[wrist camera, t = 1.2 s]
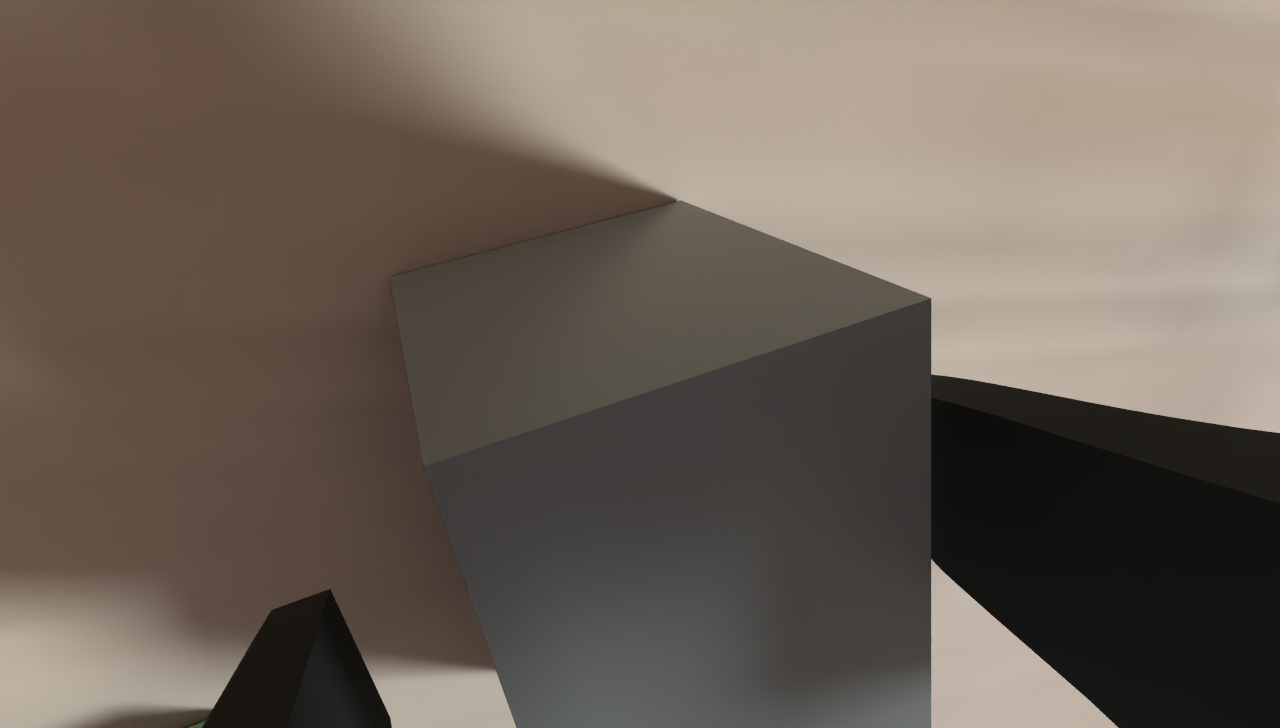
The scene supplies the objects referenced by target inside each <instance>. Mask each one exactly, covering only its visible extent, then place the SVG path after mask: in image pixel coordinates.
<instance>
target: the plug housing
mask: <svg viewBox="0 0 1280 728" xmlns="http://www.w3.org/2000/svg"><path fill="white" fill-rule="evenodd" d="M390 283H391V288H392V294H393V300H394V305H395V311H396V317H397V322H398V328H399V334H400V339H401V345H402V351H403V356H404V362H405V367H406V373H407V379H408V384H409V390H410V396H411V401H412V407H413V413H414V418H415V424H416V430H417V435H418V441H419V446H420V452H421V458H422V463H423V468H424V470H425V473H426V476H427V479H428V482H429V484H430V487H431V490H432V493H433V496H434V498H435V501H436V504H437V507H438V509H439V512H440V515H441V518H442V521H443V523H444V526H445V529H446V532H447V535H448V537H449V540H450V543H451V546H452V549H453V551H454V554H455V557H456V560H457V563H458V565H459V568H460V571H461V574H462V576H463V579H464V582H465V585H466V588H467V590H468V593H469V596H470V599H471V602H472V604H473V607H474V610H475V613H476V616H477V618H478V621H479V624H480V627H481V630H482V632H483V635H484V638H485V641H486V643H487V646H488V649H489V652H490V655H491V657H492V660H493V663H494V666H495V669H496V671H497V674H498V677H499V680H500V683H501V685H502V688H503V691H504V694H505V697H506V699H507V702H508V705H509V708H510V710H511V713H512V716H513V719H514V722H515V724H516V727H517V728H931V298H929V297H926V296H924V295H921V294H918V293H916V292H913V291H911V290H908V289H906V288H903V287H901V286H898V285H895V284H893V283H890V282H888V281H885V280H883V279H880V278H878V277H875V276H872V275H870V274H867V273H865V272H862V271H860V270H857V269H855V268H852V267H849V266H847V265H844V264H842V263H839V262H837V261H834V260H832V259H829V258H826V257H824V256H821V255H819V254H816V253H814V252H811V251H809V250H806V249H803V248H801V247H798V246H796V245H793V244H791V243H788V242H785V241H783V240H780V239H778V238H775V237H773V236H770V235H768V234H765V233H762V232H760V231H757V230H755V229H752V228H750V227H747V226H745V225H742V224H739V223H737V222H734V221H732V220H729V219H727V218H724V217H722V216H719V215H716V214H714V213H711V212H709V211H706V210H704V209H701V208H699V207H696V206H693V205H691V204H688V203H686V202H683V201H677V202H673V203H669V204H665V205H662V206H658V207H654V208H650V209H646V210H643V211H639V212H635V213H631V214H627V215H624V216H620V217H616V218H612V219H608V220H605V221H601V222H597V223H593V224H589V225H586V226H582V227H578V228H574V229H570V230H566V231H563V232H559V233H555V234H551V235H547V236H544V237H540V238H536V239H532V240H528V241H525V242H521V243H517V244H513V245H509V246H506V247H502V248H498V249H494V250H490V251H486V252H483V253H479V254H475V255H471V256H467V257H464V258H460V259H456V260H452V261H448V262H445V263H441V264H437V265H433V266H429V267H426V268H422V269H418V270H414V271H410V272H407V273H403V274H399V275H395V276H391V277H390Z"/></svg>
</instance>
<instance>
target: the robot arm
mask: <svg viewBox="0 0 1280 728" xmlns="http://www.w3.org/2000/svg"><path fill="white" fill-rule="evenodd" d="M931 559H932V560H933V561H934V562H935V563H936V564H937V565H938V566H939V568H940V569H941V570H942V571H943V572H945V573H946V574H947V575H948V576H949V577H950V578H951V579H952V580H953V581H954V582H955V583H957V584H958V585H959V586H960V587H961V588H962V589H963V590H964V591H965V592H967V593H968V594H969V595H970V596H971V597H972V598H973V599H974V600H976V601H977V602H978V603H979V604H980V605H981V606H982V607H983V608H985V609H986V610H987V611H988V612H989V613H990V614H991V615H992V616H994V617H995V618H996V619H997V620H998V621H999V622H1001V623H1002V624H1003V625H1004V626H1005V627H1006V628H1007V629H1009V630H1010V631H1011V632H1012V633H1013V634H1014V635H1015V636H1017V637H1018V638H1019V639H1020V640H1021V641H1022V642H1023V643H1025V644H1026V645H1027V646H1028V647H1029V648H1030V649H1031V650H1033V651H1034V652H1035V653H1036V654H1037V655H1038V656H1040V657H1041V658H1042V659H1043V660H1044V661H1045V662H1046V663H1048V664H1049V665H1050V666H1051V667H1052V668H1053V669H1054V670H1056V671H1057V672H1058V673H1059V674H1060V675H1061V676H1062V677H1064V678H1065V679H1066V680H1067V681H1068V682H1069V683H1070V684H1072V685H1073V686H1074V687H1075V688H1076V689H1077V690H1078V691H1080V692H1081V693H1082V694H1083V695H1084V696H1085V697H1086V698H1088V699H1089V700H1090V701H1091V702H1092V703H1093V704H1094V705H1095V706H1096V707H1097V708H1098V709H1099V710H1100V711H1101V712H1103V713H1104V714H1105V715H1106V716H1107V717H1108V718H1109V719H1110V720H1111V721H1112V722H1113V723H1114V724H1115V725H1116V726H1117V727H1118V728H1280V433H1274V432H1266V431H1258V430H1251V429H1243V428H1236V427H1230V426H1223V425H1217V424H1211V423H1204V422H1198V421H1191V420H1185V419H1179V418H1172V417H1166V416H1160V415H1155V414H1149V413H1143V412H1138V411H1132V410H1127V409H1121V408H1116V407H1110V406H1105V405H1100V404H1095V403H1089V402H1084V401H1079V400H1074V399H1069V398H1064V397H1059V396H1053V395H1048V394H1043V393H1038V392H1033V391H1028V390H1023V389H1018V388H1012V387H1007V386H1002V385H997V384H991V383H985V382H980V381H974V380H968V379H961V378H955V377H947V376H938V375H931ZM202 728H392V727H391V720H390V717H389V714H388V712H387V710H386V708H385V706H384V704H383V701H382V699H381V697H380V695H379V693H378V691H377V689H376V686H375V684H374V682H373V680H372V678H371V676H370V674H369V671H368V669H367V667H366V665H365V663H364V661H363V659H362V656H361V654H360V652H359V650H358V648H357V646H356V643H355V641H354V639H353V637H352V635H351V633H350V631H349V628H348V626H347V624H346V622H345V620H344V618H343V616H342V613H341V611H340V609H339V607H338V605H337V603H336V601H335V598H334V596H333V594H332V592H331V590H330V589H329V590H326V591H324V592H321V593H318V594H315V595H312V596H310V597H307V598H304V599H301V600H299V601H296V602H293V603H290V604H288V605H285V606H282V607H279V608H276V609H274V610H271V612H270V614H269V615H268V617H267V619H266V620H265V622H264V623H263V625H262V627H261V628H260V630H259V632H258V633H257V635H256V637H255V638H254V640H253V642H252V643H251V645H250V647H249V648H248V650H247V652H246V654H245V655H244V657H243V659H242V660H241V662H240V664H239V665H238V667H237V669H236V671H235V672H234V674H233V676H232V677H231V679H230V681H229V683H228V684H227V686H226V688H225V689H224V691H223V693H222V694H221V696H220V698H219V700H218V701H217V703H216V705H215V706H214V708H213V710H212V711H211V713H210V715H209V717H208V718H207V720H206V722H205V723H204V725H203V727H202Z"/></svg>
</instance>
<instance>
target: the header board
mask: <svg viewBox="0 0 1280 728" xmlns="http://www.w3.org/2000/svg"><path fill="white" fill-rule="evenodd" d="M205 722H206V721H204V722H201V723H198V724H196V725H193V726H191V727H188V728H202V727H203V725H204V723H205Z"/></svg>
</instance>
